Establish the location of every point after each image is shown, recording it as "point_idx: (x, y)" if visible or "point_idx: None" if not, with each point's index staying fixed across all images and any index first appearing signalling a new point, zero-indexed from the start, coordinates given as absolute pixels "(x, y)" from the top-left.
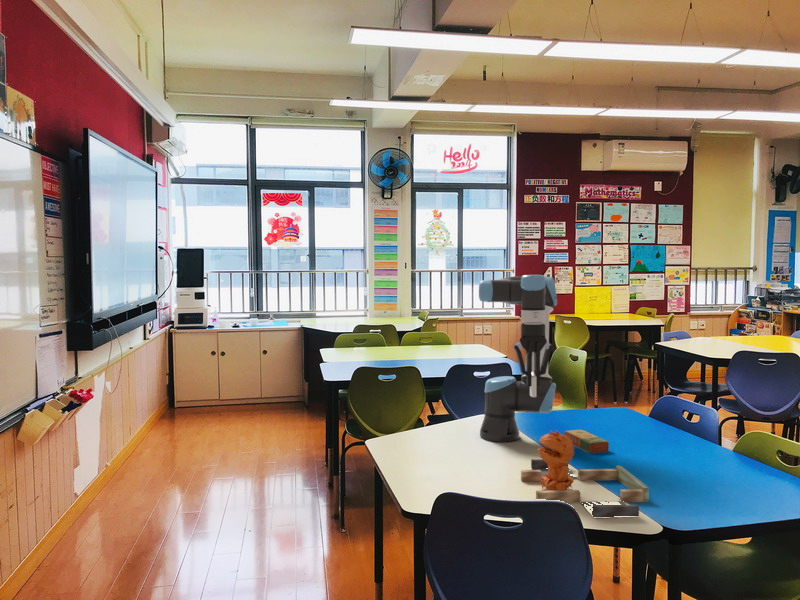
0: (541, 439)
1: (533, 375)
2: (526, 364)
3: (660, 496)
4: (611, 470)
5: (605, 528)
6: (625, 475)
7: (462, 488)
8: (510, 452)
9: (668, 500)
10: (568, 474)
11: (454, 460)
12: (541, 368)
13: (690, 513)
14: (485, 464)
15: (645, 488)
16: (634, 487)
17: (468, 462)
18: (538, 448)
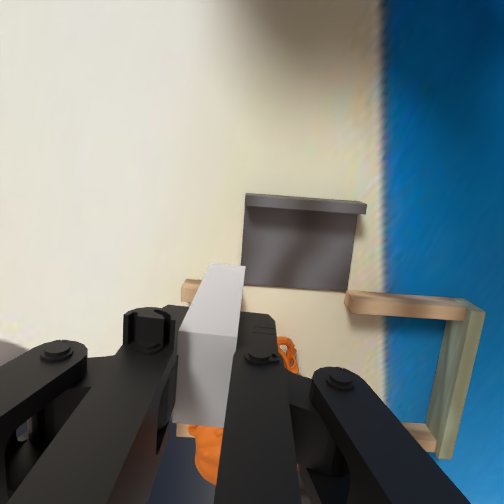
0: (197, 447)
1: (222, 344)
2: (57, 443)
3: (482, 411)
4: (445, 317)
5: None
6: (455, 366)
7: (17, 320)
8: (228, 16)
9: (484, 431)
10: (333, 262)
11: (10, 88)
12: (338, 427)
13: (480, 489)
14: (110, 141)
15: (442, 457)
16: (439, 405)
17: (56, 114)
18: (190, 426)
